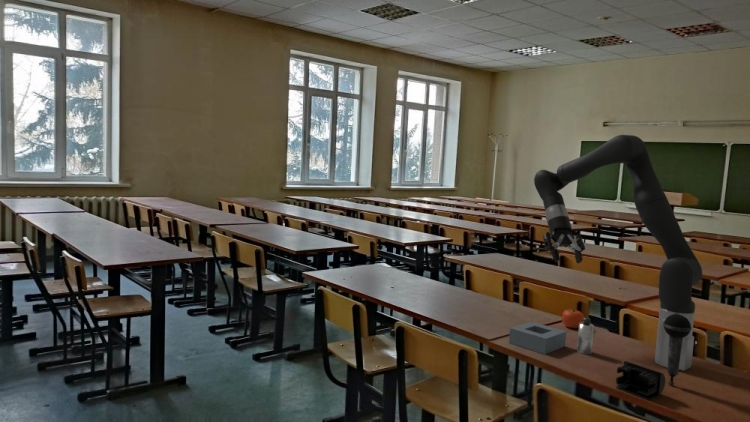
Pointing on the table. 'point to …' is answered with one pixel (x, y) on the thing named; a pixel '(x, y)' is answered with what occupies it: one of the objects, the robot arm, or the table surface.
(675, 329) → the microphone
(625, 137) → the robot arm
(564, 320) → the pumpkin
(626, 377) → the end cap
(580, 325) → the silver bottle
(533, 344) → the grey block with hole
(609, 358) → the table surface
